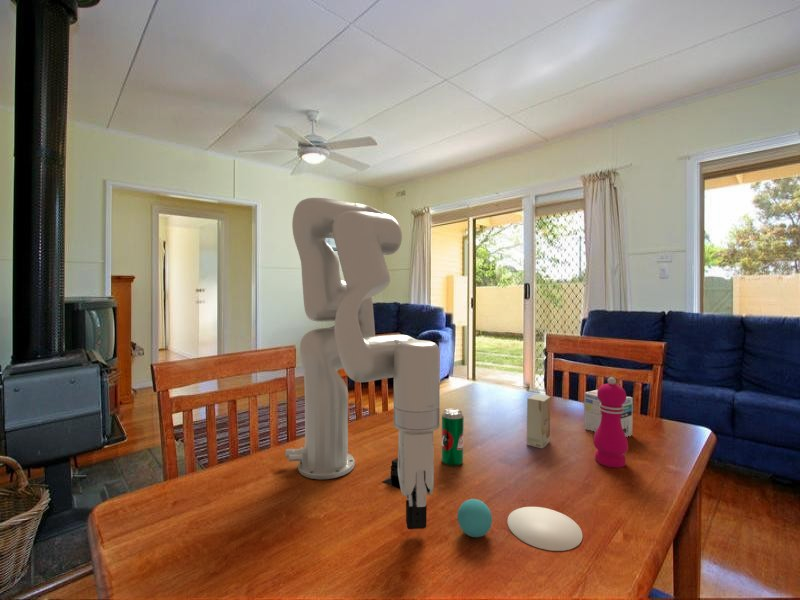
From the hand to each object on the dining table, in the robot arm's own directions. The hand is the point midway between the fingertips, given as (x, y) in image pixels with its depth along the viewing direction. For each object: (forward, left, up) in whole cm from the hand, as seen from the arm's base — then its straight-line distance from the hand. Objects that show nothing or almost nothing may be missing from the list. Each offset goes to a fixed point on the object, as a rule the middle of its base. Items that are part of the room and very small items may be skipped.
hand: (416, 525), depth 66 cm
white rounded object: (+22, 0, -2) cm, 22 cm away
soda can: (+12, +26, -2) cm, 29 cm away
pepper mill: (+49, +23, -2) cm, 54 cm away
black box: (0, +20, -2) cm, 20 cm away
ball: (+10, -1, +1) cm, 10 cm away
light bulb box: (+60, +41, -2) cm, 73 cm away
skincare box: (+37, +35, -2) cm, 51 cm away
